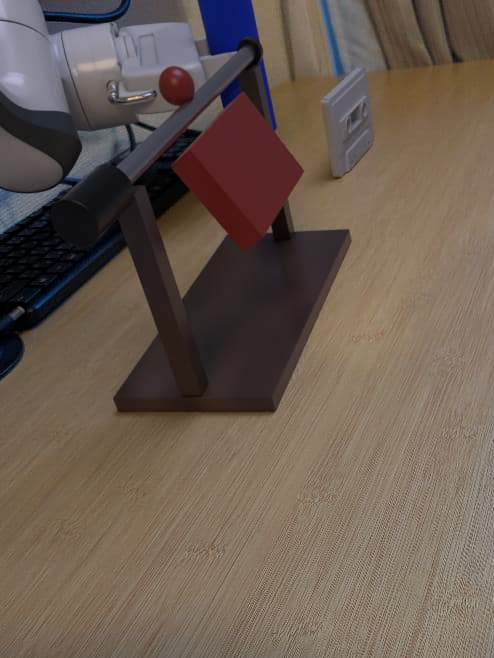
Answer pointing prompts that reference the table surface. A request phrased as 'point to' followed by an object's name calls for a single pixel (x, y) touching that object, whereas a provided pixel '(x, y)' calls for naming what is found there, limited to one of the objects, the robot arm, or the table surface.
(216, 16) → the beverage can
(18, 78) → the robot arm
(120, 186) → the foosball rod
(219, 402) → the rod stand
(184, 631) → the table surface
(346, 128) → the cassette
